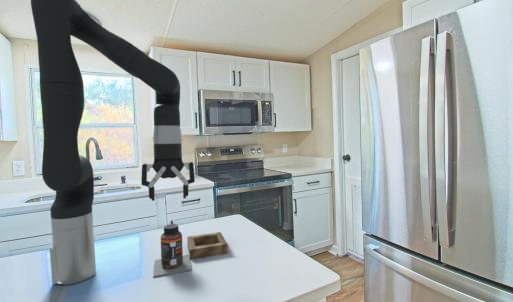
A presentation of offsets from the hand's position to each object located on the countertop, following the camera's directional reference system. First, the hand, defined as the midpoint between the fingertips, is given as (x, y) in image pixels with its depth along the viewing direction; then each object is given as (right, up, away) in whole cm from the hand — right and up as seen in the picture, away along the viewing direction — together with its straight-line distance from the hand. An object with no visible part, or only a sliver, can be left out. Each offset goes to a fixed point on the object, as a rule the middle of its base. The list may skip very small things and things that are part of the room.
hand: (169, 199), depth 77 cm
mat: (+1, -20, +1) cm, 20 cm away
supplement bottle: (+1, -19, +1) cm, 19 cm away
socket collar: (+8, -19, +12) cm, 24 cm away
